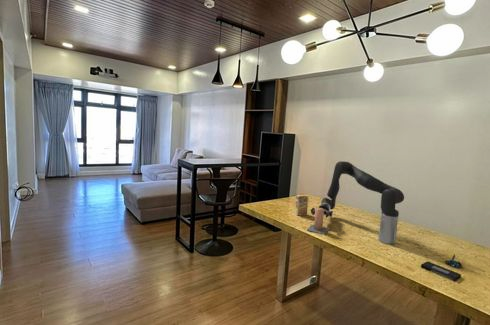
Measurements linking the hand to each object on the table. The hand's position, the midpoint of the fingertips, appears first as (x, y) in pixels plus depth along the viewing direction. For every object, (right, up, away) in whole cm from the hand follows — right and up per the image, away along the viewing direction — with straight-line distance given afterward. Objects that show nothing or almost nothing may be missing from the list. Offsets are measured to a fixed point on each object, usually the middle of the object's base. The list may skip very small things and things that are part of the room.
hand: (319, 214), depth 179 cm
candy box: (-6, -6, +31) cm, 32 cm away
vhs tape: (+46, -19, -48) cm, 69 cm away
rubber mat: (-1, -10, 0) cm, 10 cm away
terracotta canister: (-1, -9, 0) cm, 10 cm away
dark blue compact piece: (+59, -19, -40) cm, 73 cm away
